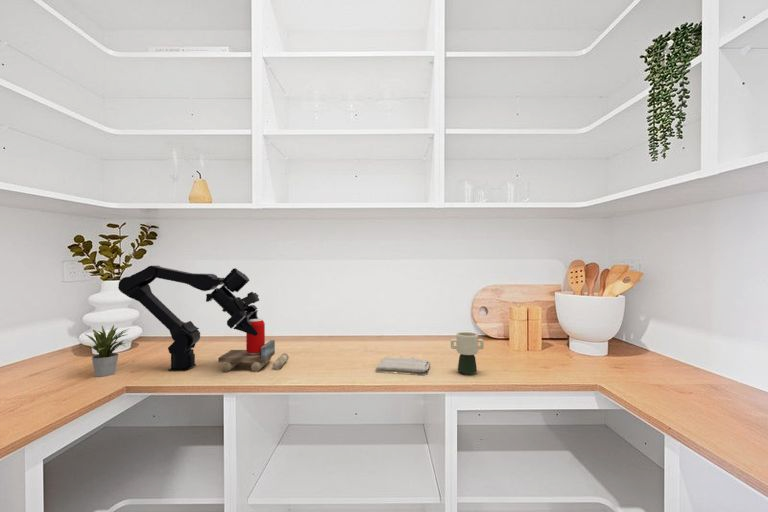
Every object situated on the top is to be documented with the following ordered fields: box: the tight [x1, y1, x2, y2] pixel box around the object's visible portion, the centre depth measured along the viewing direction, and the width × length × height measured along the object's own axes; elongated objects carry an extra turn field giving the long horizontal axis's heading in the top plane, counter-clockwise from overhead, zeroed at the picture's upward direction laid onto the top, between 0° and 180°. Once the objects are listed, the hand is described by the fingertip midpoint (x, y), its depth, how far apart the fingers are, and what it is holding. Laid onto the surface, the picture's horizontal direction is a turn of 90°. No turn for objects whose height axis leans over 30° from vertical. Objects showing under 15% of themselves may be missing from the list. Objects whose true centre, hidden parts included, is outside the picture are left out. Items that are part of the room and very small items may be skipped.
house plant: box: [80, 324, 129, 378], centre depth 122 cm, size 14×14×16 cm
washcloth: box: [375, 356, 431, 376], centre depth 128 cm, size 12×18×3 cm, turn 78°
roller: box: [272, 353, 290, 370], centre depth 132 cm, size 3×10×3 cm, turn 1°
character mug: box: [450, 331, 485, 375], centre depth 123 cm, size 11×7×13 cm, turn 87°
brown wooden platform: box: [217, 339, 276, 373], centre depth 131 cm, size 16×13×8 cm
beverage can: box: [245, 318, 266, 355], centre depth 131 cm, size 6×6×12 cm
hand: (260, 332), depth 131 cm, fingers open, 9 cm apart
